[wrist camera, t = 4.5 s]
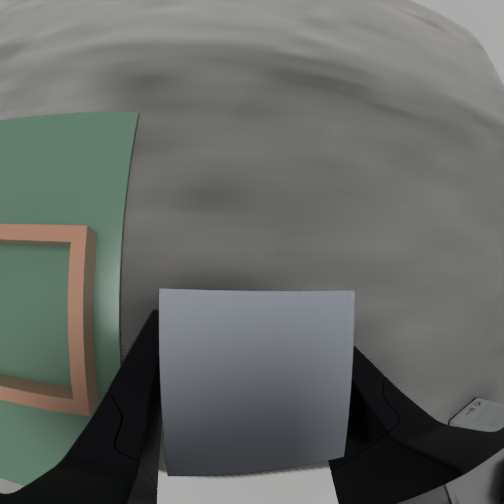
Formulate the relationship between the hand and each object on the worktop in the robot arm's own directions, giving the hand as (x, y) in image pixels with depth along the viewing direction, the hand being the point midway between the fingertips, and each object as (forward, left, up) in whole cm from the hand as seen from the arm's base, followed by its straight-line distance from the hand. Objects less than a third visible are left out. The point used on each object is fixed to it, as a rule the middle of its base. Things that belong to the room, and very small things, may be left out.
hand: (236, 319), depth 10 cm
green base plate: (-2, +13, -7) cm, 15 cm away
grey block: (-1, 0, -7) cm, 7 cm away
